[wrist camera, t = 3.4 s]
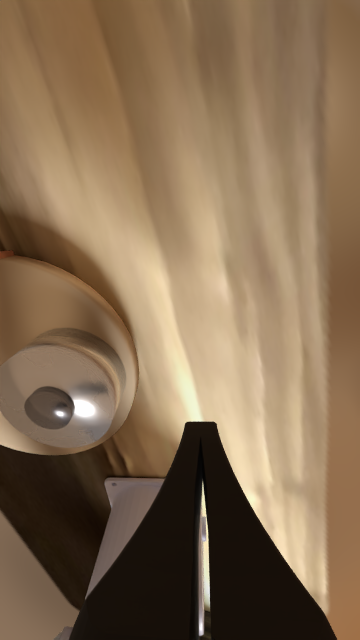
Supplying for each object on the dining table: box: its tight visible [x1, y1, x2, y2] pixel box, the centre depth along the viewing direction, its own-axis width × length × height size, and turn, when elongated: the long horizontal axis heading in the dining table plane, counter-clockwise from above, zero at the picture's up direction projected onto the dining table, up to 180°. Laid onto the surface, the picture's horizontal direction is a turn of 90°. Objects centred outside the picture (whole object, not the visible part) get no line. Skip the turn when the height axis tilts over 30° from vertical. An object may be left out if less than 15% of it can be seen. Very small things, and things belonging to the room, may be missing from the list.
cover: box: [0, 328, 127, 448], centre depth 16 cm, size 7×7×4 cm
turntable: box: [0, 250, 139, 455], centre depth 18 cm, size 16×16×2 cm
